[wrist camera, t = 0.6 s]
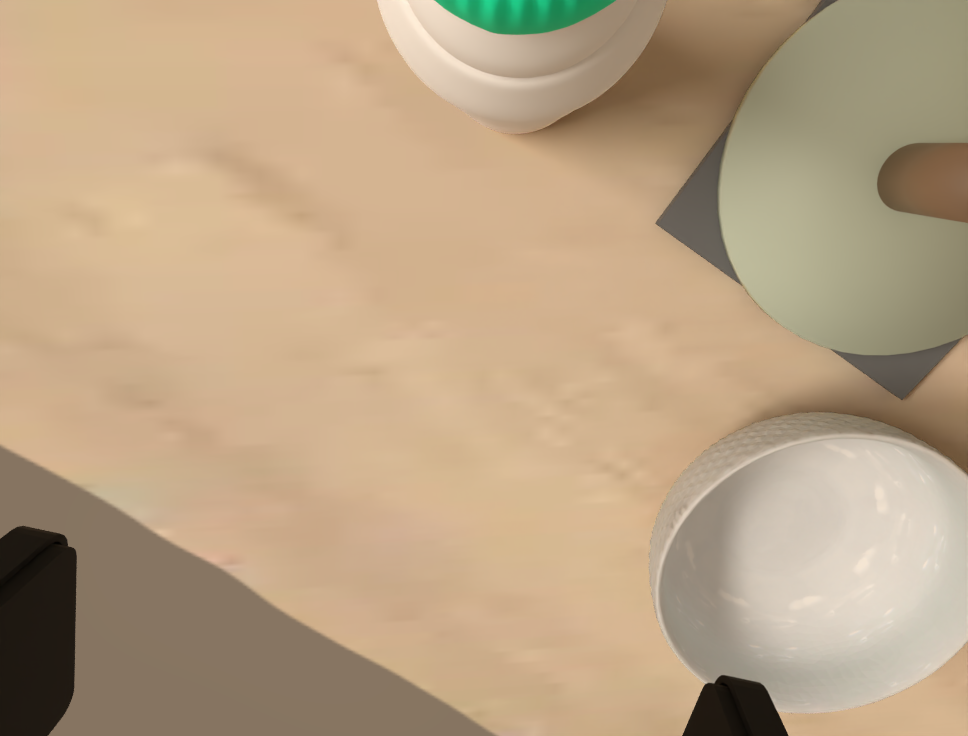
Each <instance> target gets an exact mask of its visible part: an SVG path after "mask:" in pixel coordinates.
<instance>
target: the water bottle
mask: <svg viewBox="0 0 968 736" xmlns="http://www.w3.org/2000/svg"><path fill="white" fill-rule="evenodd" d="M377 2H378V6H379V9H380V12H381V16H382V18H383V21H384V24H385V26H386V28H387V31H388V33H389V35H390V37H391V39H392V41H393V43H394V44H395V46H396V48H397V50H398V51H399V53H400V54H401V56H402V57H403V59H404V60H405V62H406V63H407V64H408V66H409V67H410V68H411V70H412V71H413V72H414V73H415V74H416V75H417V76H418V78H419V79H420V80H421V81H422V82H423V83H424V84H425V85H426V86H428V87H429V88H430V89H431V90H432V91H433V92H435V93H436V94H437V95H439V96H440V97H441V98H443V99H444V100H446V101H447V102H449V103H451V104H452V105H454V106H456V107H457V108H458V109H460V110H461V111H463V112H464V113H466V114H467V115H469V116H470V117H471V118H472V119H473V120H475V121H476V122H478V123H479V124H481V125H483V126H485V127H487V128H489V129H491V130H494V131H497V132H501V133H507V134H524V133H530V132H534V131H537V130H540V129H543V128H545V127H547V126H549V125H551V124H553V123H554V122H556V121H557V120H558V119H560V118H562V117H564V116H566V115H567V114H569V113H571V112H572V111H574V110H577V109H579V108H581V107H583V106H584V105H586V104H588V103H590V102H591V101H593V100H595V99H596V98H598V97H599V96H600V95H602V94H603V93H604V92H606V91H607V90H608V89H609V88H611V87H612V86H613V85H614V84H615V83H616V82H617V81H618V80H619V79H620V78H621V77H622V76H623V75H624V74H625V73H626V72H627V71H628V70H629V69H630V67H631V66H632V65H633V64H634V63H635V61H636V60H637V59H638V57H639V56H640V55H641V53H642V52H643V50H644V49H645V47H646V46H647V44H648V42H649V41H650V39H651V37H652V35H653V33H654V31H655V29H656V27H657V25H658V23H659V21H660V18H661V16H662V13H663V11H664V8H665V5H666V2H667V0H377Z"/></svg>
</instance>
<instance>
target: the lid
mask: <svg viewBox="0 0 968 736" xmlns="http://www.w3.org/2000/svg"><path fill="white" fill-rule="evenodd" d="M717 213H718V220H719V226H720V233H721V238H722V241H723V244H724V248H725V251H726V254H727V257H728V260H729V262H730V264H731V266H732V268H733V270H734V273H735V275H736V277H737V278H738V280H739V281H740V283H741V284H742V286H743V288H744V289H745V291H746V292H747V294H748V295H749V296H750V297H751V298H752V299H753V300H754V302H755V303H756V304H757V305H758V306H759V307H760V308H761V309H762V310H763V311H764V312H765V313H766V314H767V315H769V316H770V317H771V318H772V319H774V320H775V321H776V322H777V323H778V324H780V325H781V326H783V327H785V328H786V329H788V330H790V331H791V332H793V333H794V334H796V335H798V336H799V337H801V338H803V339H805V340H808V341H810V342H812V343H815V344H817V345H819V346H822V347H826V348H829V349H833V350H836V351H840V352H845V353H852V354H860V355H896V354H905V353H912V352H917V351H921V350H925V349H930V348H934V347H937V346H940V345H943V344H946V343H949V342H952V341H954V340H957V339H960V338H962V337H964V336H966V335H968V0H838V1H836V2H834V3H833V4H831V5H829V6H827V7H826V8H824V9H823V10H822V11H820V12H819V13H818V14H816V15H815V16H814V17H812V18H811V19H810V20H808V21H807V22H806V23H804V24H803V25H802V26H801V27H800V28H798V29H797V30H796V31H795V32H794V33H793V34H792V35H791V36H790V37H789V38H788V39H787V40H786V41H785V42H784V43H783V44H782V45H781V46H780V47H779V48H778V49H777V51H776V52H775V53H774V54H773V55H772V57H771V58H770V59H769V60H768V61H767V63H766V64H765V65H764V66H763V67H762V69H761V70H760V72H759V73H758V75H757V76H756V78H755V79H754V81H753V82H752V84H751V85H750V87H749V89H748V90H747V92H746V94H745V96H744V98H743V100H742V102H741V104H740V106H739V108H738V110H737V112H736V114H735V116H734V118H733V121H732V124H731V126H730V130H729V132H728V135H727V138H726V141H725V145H724V149H723V153H722V157H721V162H720V167H719V176H718V185H717Z"/></svg>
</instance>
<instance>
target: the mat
mask: <svg viewBox="0 0 968 736" xmlns="http://www.w3.org/2000/svg"><path fill="white" fill-rule="evenodd" d="M836 1H838V0H822V1H821V2H820V3H819V5H818V6H817V7H816V9H815V10H814V11H813V13H812V14H811V15H810V17H809V18H808V19H807V21H808V20H810V19H811V18H812V17H814V16H815V15H816V14H818V13H819V12H820V11H822V10H823V9H824V8H826V7H827V6H829V5H831V4H833V3H834V2H836ZM807 21H806V22H807ZM806 22H805V23H806ZM732 121H733V120H732ZM732 121H731V123H730V124H729V125H728V127H727V128H726V129H725V131H724V132H723V133H722V135H721V136H720V137H719V139H718V140H717V141H716V143H715V144H714V145H713V147H712V148H711V149H710V151H709V152H708V153H707V155H706V156H705V157H704V159H703V160H702V161H701V163H700V164H699V165H698V167H697V168H696V169H695V171H694V172H693V173H692V175H691V176H690V178H689V179H688V180H687V182H686V183H685V184H684V186H683V187H682V188H681V190H680V191H679V192H678V194H677V195H676V196H675V198H674V199H673V200H672V202H671V203H670V204H669V206H668V207H667V208H666V210H665V211H664V212H663V214H662V215H661V216H660V218H659V219H658V220H657V222H656V223H655V224H657V225H658V226H660V227H661V228H662V229H664V230H665V231H667V232H668V233H669V234H671V235H672V236H673V237H675V238H676V239H678V240H679V241H680V242H682V243H683V244H685V245H686V246H687V247H689V248H690V249H692V250H693V251H694V252H696V253H697V254H699V255H700V256H701V257H703V258H704V259H706V260H707V261H708V262H710V263H711V264H713V265H714V266H715V267H717V268H718V269H719V270H721V271H722V272H724V273H725V274H726V275H728V276H729V277H731V278H732V279H733V280H735V281H736V282H738V283H739V284H740V285H742V284H741V283H740V281H739V280H738V278H737V277H736V275H735V273H734V270H733V268H732V266H731V264H730V262H729V260H728V257H727V254H726V251H725V248H724V244H723V241H722V238H721V233H720V226H719V220H718V213H717V185H718V176H719V167H720V162H721V157H722V153H723V149H724V145H725V141H726V138H727V135H728V132H729V130H730V126H731V124H732ZM960 339H961V338H960ZM960 339H957V340H954V341H952V342H949V343H946V344H943V345H940V346H937V347H934V348H930V349H925V350H921V351H917V352H912V353H905V354H896V355H860V354H852V353H845V352H840V351H836V350H833V349H831V350H832V351H834V352H835V353H837V354H838V355H839V356H841V357H842V358H844V359H845V360H846V361H848V362H849V363H851V364H852V365H853V366H855V367H856V368H858V369H859V370H860V371H862V372H863V373H864V374H866V375H867V376H869V377H870V378H871V379H873V380H874V381H876V382H877V383H878V384H880V385H881V386H883V387H884V388H885V389H887V390H888V391H890V392H891V393H892V394H894V395H895V396H897V397H898V398H900V399H901V400H903V398H904V397H905V396H906V395H907V394H908V393H909V392H910V391H911V390H912V389H913V388H914V387H915V386H916V385H917V384H918V383H919V382H920V381H921V380H922V379H923V378H924V377H925V376H926V375H927V374H928V373H929V372H930V371H931V369H932V368H933V367H934V366H935V365H936V364H937V363H938V362H939V361H940V360H941V359H942V358H943V357H944V356H945V355H946V354H947V353H948V352H949V351H950V350H951V349H952V348H953V347H954V346H955V345H956V344H957V343H958V341H959V340H960Z"/></svg>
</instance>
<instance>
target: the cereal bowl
mask: <svg viewBox="0 0 968 736" xmlns="http://www.w3.org/2000/svg"><path fill="white" fill-rule="evenodd" d="M649 574H650V586H651V595H652V599H653V604H654V609H655V613H656V618H657V620H658V623H659V625H660V628H661V631H662V633H663V635H664V637H665V639H666V641H667V643H668V645H669V646H670V648H671V649H672V651H673V652H674V653H675V655H676V656H677V657H678V659H679V660H680V661H681V662H682V664H683V665H684V666H685V667H686V668H687V669H688V670H689V671H690V672H691V673H693V674H694V675H695V676H696V677H697V678H698V679H699V680H701V681H702V682H703V683H705V684H707V683H715V681H716V680H717V678H718V677H719V676H721V675H727V676H732V677H736V678H741V679H746V680H751V681H755V682H760V683H761V684H763V685H764V686H765V688H766V689H767V691H768V693H769V695H770V697H771V699H772V701H773V704H774V706H775V708H776V710H777V711H778V712H786V713H827V712H835V711H841V710H847V709H852V708H857V707H861V706H864V705H868V704H871V703H874V702H877V701H880V700H883V699H885V698H888V697H890V696H892V695H895V694H897V693H899V692H901V691H903V690H905V689H907V688H909V687H911V686H913V685H915V684H917V683H919V682H920V681H922V680H923V679H925V678H926V677H928V676H929V675H931V674H932V673H934V672H935V671H937V670H938V669H939V668H941V667H942V666H943V665H944V664H945V663H946V662H947V661H949V660H950V659H951V658H952V657H953V656H954V655H955V654H956V653H957V652H958V651H959V650H960V649H961V648H962V647H963V646H964V645H965V644H966V643H967V642H968V474H967V473H966V471H964V470H963V469H961V468H960V467H959V466H958V465H956V464H955V463H954V462H953V461H952V460H951V459H950V458H949V457H947V456H944V455H943V454H942V453H941V452H939V451H938V450H937V449H936V448H934V447H931V446H929V445H928V444H927V443H926V442H924V441H922V440H919V439H917V438H916V437H915V436H913V435H912V434H910V433H907V432H904V431H902V430H901V429H899V428H896V427H894V426H889V425H887V424H886V423H883V422H880V421H875V420H872V419H869V418H867V417H857V416H854V415H849V414H839V413H833V412H828V413H827V412H825V413H823V412H809V413H796V414H792V415H782V416H780V417H775V418H770V419H767V420H763V421H760V422H758V423H752V424H751V425H750V426H746V427H744V428H743V429H741V430H737V431H735V432H734V433H732V434H729V435H728V436H727V437H725V438H723V439H720V440H719V441H718V442H717V443H716V444H714V445H711V446H710V447H709V448H708V449H707V450H704V452H703V453H702V454H701V455H700V456H698V457H697V458H696V459H695V460H694V462H692V463H690V465H689V466H688V467H687V468H686V469H685V470H684V471H683V473H682V474H681V475H680V477H679V478H678V479H677V481H676V482H675V483H674V485H673V486H672V488H671V489H670V491H669V493H668V494H667V496H666V498H665V500H664V502H663V503H662V506H661V509H660V511H659V513H658V516H657V518H656V521H655V525H654V527H653V531H652V537H651V540H650V552H649Z"/></svg>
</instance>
